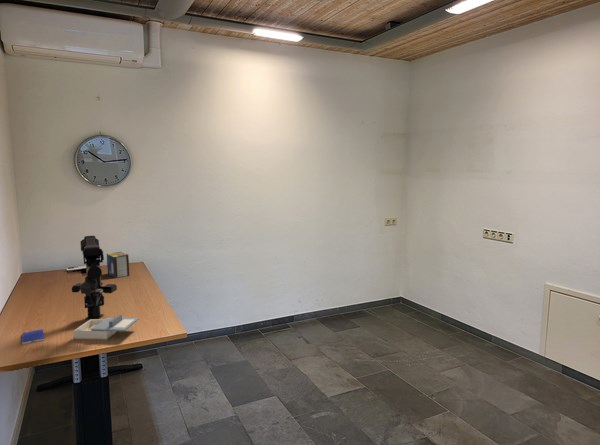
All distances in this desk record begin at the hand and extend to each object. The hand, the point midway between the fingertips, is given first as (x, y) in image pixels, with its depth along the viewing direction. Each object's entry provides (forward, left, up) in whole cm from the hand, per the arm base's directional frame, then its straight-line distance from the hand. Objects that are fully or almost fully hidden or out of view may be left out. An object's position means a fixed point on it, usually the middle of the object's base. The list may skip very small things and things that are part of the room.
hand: (95, 305), depth 191 cm
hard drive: (+9, -24, -13) cm, 29 cm away
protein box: (-102, -39, -12) cm, 110 cm away
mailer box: (+3, +3, -12) cm, 13 cm away
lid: (+3, +11, -8) cm, 14 cm away
